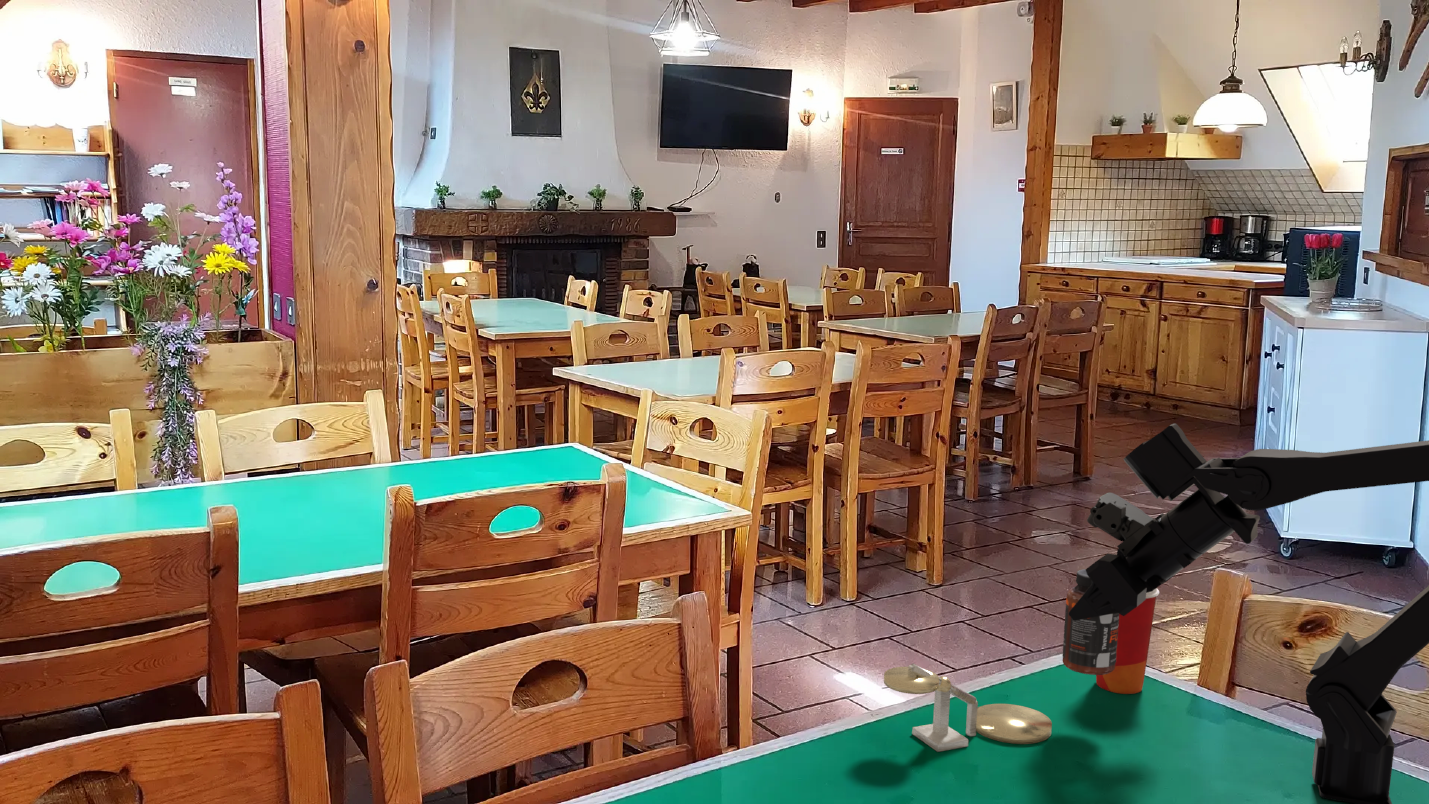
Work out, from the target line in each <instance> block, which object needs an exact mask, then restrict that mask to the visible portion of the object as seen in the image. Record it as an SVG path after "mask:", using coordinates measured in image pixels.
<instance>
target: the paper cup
mask: <svg viewBox="0 0 1429 804" xmlns="http://www.w3.org/2000/svg"><path fill="white" fill-rule="evenodd" d="M1158 596H1160V590H1159V589H1158V587H1157V588H1156V589H1154V590H1153V591H1151V592H1148V593H1146V600H1145V601H1143V602H1142V603H1141V604H1140V605H1139V606H1137V607H1136V608H1135V609H1133V610H1132V611H1130V612H1129V613H1128V614H1126V615H1125V616H1122V615H1121V614H1119V626H1118V639H1117V654H1116V663H1115V669H1114V670H1113V671H1112V672H1111V673H1108V674H1104V675H1095V676H1096V677H1095V679H1096V680H1095V681H1096V682H1095V683H1096V685H1097V686H1098V687H1099V688H1100V689H1102V690H1105V691H1107V692H1111V693H1115V694H1121V695H1122V694H1123V695H1134V694H1138V693H1141V692H1142V690H1143V686H1144V682H1145V674H1146V670H1147V669H1146V668H1147V663H1148V656H1149V655H1148V654H1149V649H1150V642H1151V637H1152V635H1151V634H1152V628H1153V621H1154V614H1155V610H1156V609H1155V608H1156V607H1155V606H1156V601H1157V597H1158Z"/></svg>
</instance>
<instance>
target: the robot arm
mask: <svg viewBox="0 0 1429 804" xmlns="http://www.w3.org/2000/svg"><path fill="white" fill-rule="evenodd" d="M1123 461H1124V463H1125V464H1126V465H1127V466H1128V467H1129V469H1130V470H1131V471H1132V472H1133V473H1134V474H1135V476H1136V477H1137V478H1138V479H1139V480H1140V482H1142V484H1143V485H1144V486H1145V487H1146V489H1148V491H1149V492H1150V493H1151V494H1152V495H1153V497H1154V498H1155V499H1160V498H1161V500H1165V499H1166V498H1168V500H1169V501H1170V502H1172V501H1174V500H1175V499H1176V498H1178V497H1179V496H1181V495H1182V494H1184V493H1185V492H1186V491H1188V490H1189V489H1190V488H1191V487H1193V486H1195V487H1196V490H1195V491H1194V492H1192V493H1191V494H1190V495H1189V496H1187V497H1186V498H1184V499H1183V500H1182V501H1180V502H1179V503H1178V504H1177V505H1175V506H1174V507H1173V508H1171V509H1170V510H1169V511H1167V512H1166V513H1165V514H1164V513H1163V512H1162V513H1160V514H1159V515H1158V516H1157V517H1155V518H1153V517H1152V516H1150V515H1149V514H1147V513H1145V511H1144V510H1142V509H1140V508H1139V507H1137V506H1136V505H1134V504H1133V503H1130V502H1129V501H1128V500H1127V499H1124V498H1122V497H1121V496H1120V495H1118V494H1116V493H1114V492H1107V493H1105V494H1103V495H1101V496H1099V498H1098V500H1097V501H1096V503H1095V505H1094V506H1092V507H1091V508H1090V510H1089V512H1090V513H1089V515H1088V517H1087V518H1086V522H1087V523H1088V524H1089V525H1090V526H1092V527H1093V528H1097V529H1100V530H1102V531H1103V532H1104V533H1106V534H1108V535H1110V537H1112V538H1114V539H1116V540H1118V541H1120V542H1121V543H1119V544H1118V545H1116V547H1117V550H1116V554H1115V553H1114V554H1113V553H1106V554H1105V555H1103V556H1102V557H1100V558H1098V559H1097V560H1096V561H1095V562H1093V563H1092V564H1091V565H1090V566H1088V567H1087V568H1085V569H1086V572H1087V575H1088V576H1089V578H1090V579H1091V580H1092V584H1091V586H1090V587H1089V588H1088V590H1087V591H1086V592H1085V593H1084V595H1083V596H1082V597H1081V598H1080V599H1079V601H1078V602H1077V603H1076V604H1075V605H1074V607H1073V608H1072V609H1071V610H1070V611H1069V616H1070V617H1071V618H1072V619H1073V620H1074V621H1076V620H1082V619H1087V618H1092V617H1097V616H1103V615H1109V614H1115V613H1119V614H1121V615H1122V616H1125V615H1126V614H1128V613H1129V612H1130V611H1132V610H1133V609H1135V608H1136V607H1137V606H1139V605H1140V604H1141V603H1142V602H1143V601H1145V600H1146V593H1148V592H1151V591H1153V590H1154V589H1156V588H1157V589H1158V588H1159V587H1160V586H1162V585H1164V584H1165V583H1166V582H1167V581H1169V580H1171V579H1172V578H1174V577H1175V576H1176V575H1177V574H1178V573H1179V572H1180V571H1182V570H1183V569H1185V568H1187V567H1188V566H1189V565H1191V564H1192V563H1193V562H1194V561H1196V560H1197V559H1198V558H1200V557H1201V556H1203V555H1204V554H1206V553H1207V552H1208V551H1209V550H1211V549H1212V548H1214V547H1215V546H1216V545H1217V544H1220V543H1221V542H1222V541H1223V540H1225V539H1226V538H1228V537H1229V536H1231V534H1233V533H1234V532H1235V534H1237V536H1238V537H1239V538H1240V539H1241V540H1242V542H1243V543H1245V544H1247V545H1249V544H1251V543H1252V542H1253V541H1255V540H1256V538H1257V537H1258V535H1259V534H1258V524H1259V521H1260V520H1261V517H1260V515H1259V514H1250V513H1247V512H1246V511H1254V512H1255V511H1264V510H1267V509H1271V508H1275V507H1279V506H1283V505H1285V504H1288V503H1293V502H1295V501H1299V500H1302V499H1305V498H1307V497H1311V496H1315V495H1318V494H1322V493H1326V492H1333V491H1335V492H1336V491H1343V490H1344V491H1345V490H1353V489H1355V490H1356V489H1364V488H1373V487H1374V488H1375V487H1384V486H1392V485H1394V486H1395V485H1402V484H1413V483H1423V482H1424V483H1425V482H1429V440H1422V441H1411V442H1405V443H1404V442H1403V443H1395V444H1388V445H1379V446H1371V447H1364V448H1363V447H1362V448H1353V449H1344V450H1337V451H1336V450H1335V451H1328V452H1317V451H1306V450H1305V451H1304V450H1298V449H1296V450H1295V449H1279V448H1278V449H1276V448H1258V449H1254V450H1250V451H1249V452H1247V453H1246V454H1244V455H1241V457H1233V458H1232V457H1229V458H1228V457H1227V458H1225V457H1224V458H1222V457H1217V458H1216V457H1215V458H1211V459H1209V460H1208V461H1207V459H1206V458H1205V457H1204V456H1203V455H1202V454H1201V452H1199V450H1197V448H1196V447H1195V446H1194V445H1193V443H1191V441H1190V440H1189V439H1188V438H1187V436H1186V434H1185V432H1184V431H1183V429H1182V428H1181V427H1180V426H1179V425H1178V423H1172V424H1170V425H1168V426H1167V427H1165V428H1164V429H1163V430H1161V431H1160V432H1158V433H1157V434H1155V435H1154V436H1153V437H1151V438H1150V439H1148V440H1146V441H1144V442H1142V443H1140V444H1138V446H1137V447H1135V448H1134V449H1133V450H1131V452H1129V453H1128V454H1126V456H1125V457H1124V458H1123ZM1223 494H1224V495H1226V496H1224V495H1223ZM1245 510H1246V511H1245ZM1428 645H1429V585H1427V587H1425V588H1424V589H1423V590H1422V591H1420V592H1419V594H1418V595H1416V596H1415V597H1414V598H1413V599H1412V600H1410V601H1409V603H1407V604H1406V605H1405V606H1403V608H1401V610H1399V611H1398V612H1397V613H1396V614H1395V615H1393V616H1392V617H1391V618H1390V619H1389V620H1388V621H1386V623H1384V624H1383V625H1382V626H1380V628H1378V630H1377V631H1375V632H1373V633H1372V634H1370V635H1368V636H1366V637H1364V638H1361V639H1360V640H1358V641H1356V639H1355V638H1354V637H1353V635H1352V634H1351V633H1350V632H1349V631H1346V632H1345V633H1344V634H1343V635H1342V637H1341V638H1340V639H1339V641H1338V642H1337V643H1336V645H1335V646H1334V647H1332V648H1331V649H1329V650H1328V651H1324V652H1321V653H1320V654H1319V655H1318V657H1317V659H1316V661H1315V662H1314V664H1313V665H1312V666H1311V669H1310V670H1309V674H1311V675H1313V676H1312V677H1311V679H1310V681H1309V682H1308V683H1307V687H1306V689H1305V698H1306V703H1307V705H1308V708H1309V710H1310V711H1311V712H1312V714H1313V715H1314V716H1315V717H1317V718H1318V719H1319V720H1320V721H1321V725H1322V734H1321V737H1317V738H1315V741H1314V742H1315V743H1314V750H1313V759H1312V761H1313V762H1312V768H1311V769H1312V770H1311V772H1312V773H1311V775H1312V778H1313V779H1312V780H1313V782H1314V784H1315V785H1316V786H1317V789H1318V791H1319V796H1320V797H1321V798H1323V799H1327V800H1333V801H1340V802H1345V803H1351V804H1393V803H1392V800H1391V798H1390V790H1391V788H1390V787H1391V780H1392V773H1393V772H1392V771H1393V763H1394V753H1395V747H1396V746H1395V743H1394V741H1393V739H1392V736H1391V734H1390V731H1391V730H1392V726H1393V724H1394V721H1395V719H1396V715H1397V710H1396V708H1395V707H1394V706H1393V705H1392V704H1391V703H1390V701H1389V700H1388V699H1387V698H1386V697H1385V696H1384V695H1383V693H1384V692H1385V690H1386V688H1387V687H1388V686H1389V684H1390V683H1391V682H1392V680H1393V679H1394V677H1395V676H1396V675H1397V673H1398V672H1399V670H1400V669H1401V668H1402V667H1403V666H1404V665H1406V664H1407V663H1408V662H1409V661H1410V660H1411V659H1412V658H1414V657H1415V656H1416V655H1417V654H1418V653H1419V652H1420V651H1422V650H1423V649H1424V648H1425V647H1426V646H1428Z"/></svg>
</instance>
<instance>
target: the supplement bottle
mask: <svg viewBox="0 0 1429 804" xmlns="http://www.w3.org/2000/svg"><path fill="white" fill-rule="evenodd" d="M1086 569H1087V568H1084V569H1079V570H1078V571H1077V572H1076V578H1075V583H1076V584H1077V585H1076V586H1074V587H1071V588H1070V589H1069V590H1068V591H1067V593H1066V598H1065V610H1064V611H1065V613H1064V629H1063V643H1062V664H1063V665H1064V666H1065V667H1066V668H1068V670H1071V671H1072V672H1076V673H1080V674H1084V675H1088V676H1089V675H1091V676H1092V675H1093V676H1096V675H1104V674H1108V673H1111V672H1112V671H1113V670H1114V669H1115V663H1116V654H1117V639H1118V626H1119V613H1115V614H1109V615H1103V616H1097V617H1092V618H1087V619H1082V620H1076V621H1074V620H1073V619H1072V618H1071V617H1070V616H1069V611H1070V610H1071V609H1072V608H1073V607H1074V605H1075V604H1076V603H1077V602H1078V601H1079V599H1080V598H1081V597H1082V596H1083V595H1084V593H1085V592H1086V591H1087V590H1088V588H1089V587H1090V586H1091V584H1092V580H1091V579H1090V578H1089V576H1088V575H1087V572H1086Z"/></svg>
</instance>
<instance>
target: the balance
mask: <svg viewBox="0 0 1429 804" xmlns="http://www.w3.org/2000/svg"><path fill="white" fill-rule="evenodd" d="M883 684H884V685H885V686H886V687H887V688H889V689H890V690H893V691H895V692H899V693H901V694H902V693H903V694H910V695H924V694H930V693H933V692H934V700H933V701H934V703H933V719H932V723H931V724H930V723H929V724H925V725H919V726H912V731H911V734H912V735H913V736H914V737H916V738H917V739H919V740H920V741H921V742H923V743H924V744H926V745H928V746H929V747H930V748H932V749H933V750H934V751H936V752H937V753H938V752H944V751H949V750H956V749H961V748H966V747H969V739H968V738H967V737H965V736H964V735H962V733H961V734H960V733H959V732H958V731H956V730H955V729H953V728H952V727H950V726H949V721H950V719H949V718H950V717H949V715H950V703H951V702H950V701H951V695H952V696H954V697H955V698H958V699H959V700H961V701H962V702H964V703H966V704H967V705H966V706H967V707H966V724H965V727H966V728H965V734H966V736H969V737H975V736H977V733H978V734H980V735H981V736H983V737H985V738H988V739H991V740H994V741H998V742H1002V743H1008V744H1014V745H1015V744H1016V745H1028V744H1029V745H1030V744H1037V743H1041V742H1044V741H1046V740H1048V739H1049V738H1050V737H1051V735H1052V727H1053V723H1052V720H1051V719H1050V718H1049V716H1047V715H1046V714H1044V713H1043V712H1041V711H1039V710H1036V709H1033V708H1030V707H1027V706H1023V705H1018V704H1011V703H992V704H991V703H990V704H984V705H981V706H978V705H979V704H978V703H979V702H978V701H977V698H976V697H975V696H974V695H972V694H970V693H969V692H966V691H965V690H963V689H961V688H959V687H958V686H956V685H953V684H952V682H951V680H950V679H949V677H947V676H943V675H942V676H939V675H938V674H936V673H935V672H933V671H931V670H929V669H925V668H923V667H921V666H919V665H917V664H915V663H911V664H910V665H908V666H896V667H892V668H889V669H886V671H884V674H883Z"/></svg>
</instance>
